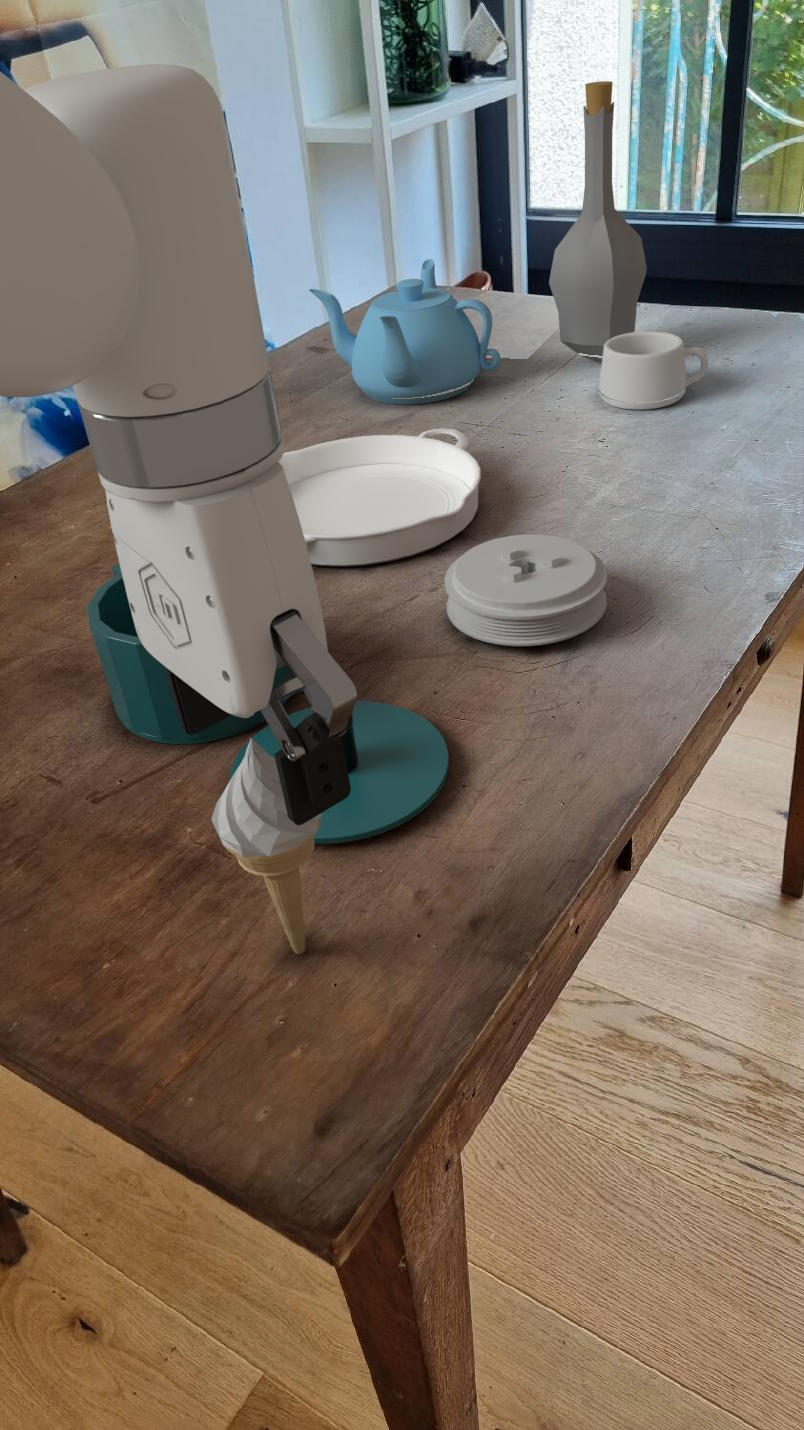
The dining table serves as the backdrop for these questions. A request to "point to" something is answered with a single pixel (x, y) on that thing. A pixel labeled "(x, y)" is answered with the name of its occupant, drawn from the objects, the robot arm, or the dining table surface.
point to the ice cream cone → (267, 836)
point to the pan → (381, 496)
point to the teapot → (413, 342)
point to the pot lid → (377, 770)
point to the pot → (147, 675)
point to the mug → (646, 369)
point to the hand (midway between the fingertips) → (263, 762)
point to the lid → (526, 590)
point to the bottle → (597, 247)
